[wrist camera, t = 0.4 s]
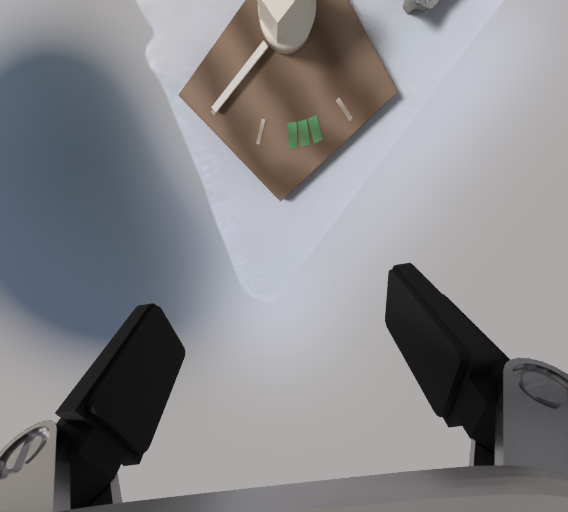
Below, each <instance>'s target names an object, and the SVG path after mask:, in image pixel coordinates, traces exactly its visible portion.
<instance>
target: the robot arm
mask: <svg viewBox="0 0 568 512" xmlns="http://www.w3.org/2000/svg"><path fill="white" fill-rule="evenodd" d="M385 322H386V326H387V328H388V330H389V332H390V333H391V335H392V337H393V339H394V341H395V342H396V344H397V346H398V348H399V350H400V351H401V353H402V355H403V357H404V358H405V360H406V362H407V364H408V366H409V368H410V369H411V371H412V373H413V375H414V376H415V378H416V380H417V382H418V384H419V385H420V387H421V389H422V391H423V393H424V394H425V396H426V398H427V400H428V402H429V403H430V405H431V407H432V409H433V410H434V412H435V413H436V415H437V416H439V417H443V419H444V420H445V422H446V424H447V425H448V427H456V426H463V428H464V429H465V431H466V432H467V434H468V436H469V437H470V438H471V451H470V462H469V466H468V467H457V468H444V469H432V470H420V471H408V472H398V473H389V474H379V475H370V476H361V477H350V478H341V479H332V480H322V481H312V482H303V483H295V484H284V485H277V486H276V485H275V486H266V487H257V488H248V489H239V490H230V491H221V492H212V493H203V494H194V495H185V496H177V497H168V498H159V499H150V500H142V501H133V502H125V503H122V498H121V492H120V486H119V479H118V473H117V472H118V470H119V468H120V465H121V464H122V465H123V466H128V465H136V464H140V461H141V459H142V456H143V454H144V453H145V452H146V451H147V450H148V448H149V446H150V444H151V442H152V439H153V437H154V434H155V431H156V429H157V426H158V424H159V421H160V419H161V416H162V414H163V411H164V408H165V406H166V403H167V401H168V398H169V396H170V393H171V390H172V388H173V385H174V383H175V380H176V377H177V375H178V373H179V370H180V368H181V365H182V362H183V360H184V357H185V349H184V347H183V345H182V343H181V341H180V340H179V338H178V337H177V335H176V333H175V331H174V330H173V328H172V326H171V324H170V323H169V321H168V319H167V318H166V316H165V314H164V313H163V311H162V309H161V308H160V307H159V306H156V305H155V304H146V305H139V306H137V307H136V308H135V309H134V311H133V312H132V313H131V315H130V316H129V317H128V318H127V320H126V321H125V322H124V324H123V325H122V326H121V328H120V329H119V330H118V332H117V333H116V334H115V335H114V337H113V338H112V339H111V341H110V342H109V343H108V345H107V346H106V347H105V349H104V350H103V351H102V352H101V354H100V355H99V356H98V358H97V359H96V360H95V362H94V363H93V364H92V365H91V367H90V368H89V369H88V371H87V372H86V373H85V375H84V376H83V377H82V378H81V380H80V381H79V382H78V384H77V385H76V386H75V388H74V389H73V390H72V391H71V393H70V394H69V395H68V397H67V398H66V399H65V401H64V402H63V403H62V405H61V406H60V407H59V409H58V410H57V411H56V412H55V413H56V414H57V415H58V416H59V417H61V418H60V420H59V421H58V422H57V424H56V423H55V422H53V421H51V420H49V421H42V422H39V423H37V424H35V425H33V426H31V427H29V428H27V429H26V430H24V431H23V432H22V433H20V434H19V435H17V436H16V437H15V438H14V439H13V440H11V441H10V442H9V443H8V444H7V445H6V446H5V447H4V448H3V449H2V450H1V451H0V512H568V374H566V373H565V372H563V371H561V370H559V369H558V368H556V367H554V366H551V365H549V364H547V363H544V362H542V361H538V360H533V359H529V358H516V359H512V360H510V359H509V358H508V357H507V356H506V355H505V354H504V353H503V352H502V351H501V350H500V349H499V348H498V347H497V346H496V345H495V344H494V343H493V342H492V341H491V340H490V339H489V338H488V337H487V336H486V335H485V334H484V333H483V332H482V331H481V330H480V329H479V328H478V327H477V326H475V324H474V323H472V321H471V320H470V319H469V318H468V317H467V316H466V315H465V314H464V313H462V311H461V310H459V308H458V307H457V306H456V305H455V304H454V303H452V302H451V301H450V300H449V299H448V298H447V297H446V296H445V295H444V294H442V293H440V291H439V290H438V289H437V288H435V286H434V285H433V284H432V283H431V282H430V281H429V280H428V279H427V278H426V277H425V276H423V274H422V273H421V272H420V271H419V270H417V268H416V267H415V266H414V265H412V264H411V263H406V264H399V265H395V266H394V267H393V269H392V270H390V271H389V275H388V287H387V301H386V314H385Z"/></svg>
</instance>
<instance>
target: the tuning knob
mask: <svg viewBox="0 0 568 512" xmlns="http://www.w3.org/2000/svg"><path fill="white" fill-rule="evenodd" d="M257 1H258V13H259V20H260V27H261V31H262V34H263V37H264V39H265V41H266V42H267V44H268V45H269V46H270V47H271V48H272V49H273V50H274V51H276V52H278V53H281V54H291V53H294V52H296V51H298V50H299V49H300V48H301V47H302V46H303V45H304V43H305V42H306V40H307V38H308V36H309V33H310V31H311V28H312V25H313V22H314V19H315V14H316V0H257ZM265 41H264V40H263V42H262V43H261V44H260V45H259V47H258V48H257V49H256V51H255V52H254V53H253V54H252V56H251V57H250V58H249V60H248V61H247V62H246V63H245V65H244V66H243V67H242V69H241V70H240V71H239V72H238V74H237V75H236V76H235V78H234V79H233V80H232V81H231V83H230V84H229V85H228V87H227V88H226V89H225V90H224V92H223V93H222V94H221V96H220V97H219V98H218V99H217V101H216V102H215V103H214V105H213V106H212V107H211V108H212V109H213V110H214V111H215V112H216V113H217V112H218V110H219V109H220V108H221V107H222V105H223V104H224V103H225V102H226V100H227V99H228V98H229V97H230V95H231V94H232V93H233V92H234V90H235V89H236V88H237V87H238V85H239V84H240V83H241V82H242V80H243V79H244V78H245V77H246V75H247V74H248V73H249V71H250V70H251V69H252V68H253V66H254V65H255V64H256V63H257V61H258V60H259V59H260V58H261V56H262V55H263V54H264V53H265V51H266V50H267V49H268V46H267V44H266V43H265Z"/></svg>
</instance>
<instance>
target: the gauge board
mask: <svg viewBox="0 0 568 512" xmlns="http://www.w3.org/2000/svg"><path fill="white" fill-rule="evenodd" d="M263 40H264V41H265V39H264V37H263V34H262V31H261V27H260V20H259V13H258V1H257V0H245V2H244V3H243V5H242V6H241V8H240V9H239V10H238V12H237V13H236V15H235V16H234V17H233V19H232V20H231V22H230V23H229V24H228V26H227V27H226V29H225V30H224V32H223V33H222V34H221V36H220V37H219V39H218V40H217V41H216V43H215V44H214V46H213V47H212V49H211V50H210V51H209V53H208V54H207V56H206V57H205V58H204V60H203V61H202V63H201V64H200V65H199V67H198V68H197V70H196V71H195V73H194V74H193V75H192V77H191V78H190V80H189V81H188V82H187V84H186V85H185V87H184V88H183V89H182V91H181V92H180V94H179V96H180V97H181V98H182V99H183V100H184V101H185V102H186V103H187V104H188V105H189V107H190V108H191V109H192V110H193V111H194V112H195V113H196V114H197V115H198V116H199V117H200V118H201V119H202V120H203V121H204V122H205V123H206V124H207V125H208V126H209V127H210V128H211V129H212V131H213V132H214V133H215V134H216V135H217V136H218V137H219V138H220V139H221V140H222V141H223V142H224V143H225V144H226V145H227V146H228V147H229V148H230V149H231V150H232V151H233V152H234V153H235V155H236V156H237V157H238V158H239V159H240V160H241V161H242V162H243V163H244V164H245V165H246V166H247V167H248V168H249V169H250V170H251V171H252V172H253V173H254V174H255V175H256V176H257V178H258V179H259V180H260V181H261V182H262V183H263V184H264V185H265V186H266V187H267V188H268V189H269V190H270V191H271V192H272V193H273V194H274V195H275V196H276V197H277V198H278V199H279V200H280V202H281V201H282V200H283V199H284V198H285V197H286V196H287V195H288V194H289V193H290V192H291V191H292V190H293V189H294V188H296V187H297V186H298V185H299V184H300V183H301V182H302V181H303V180H304V179H305V178H306V177H307V176H308V175H309V174H310V173H312V172H313V171H314V170H315V169H316V168H317V167H318V166H319V165H320V164H321V163H322V162H323V161H324V160H325V159H326V158H328V157H329V156H330V155H331V154H332V153H333V152H334V151H335V150H336V149H337V148H338V147H339V146H340V145H341V144H342V143H344V142H345V141H346V140H347V139H348V138H349V137H350V136H351V135H352V134H353V133H354V132H355V131H356V130H357V129H358V128H360V127H361V126H362V125H363V124H364V123H365V122H366V121H367V120H368V119H369V118H370V117H371V116H372V115H373V114H374V113H376V112H377V111H378V110H379V109H380V108H381V107H382V106H383V105H384V104H385V103H386V102H387V101H388V100H389V99H391V98H392V97H393V96H394V95H395V94H396V93H397V92H398V91H397V89H396V87H395V85H394V84H393V82H392V80H391V78H390V76H389V74H388V73H387V71H386V69H385V67H384V65H383V63H382V61H381V60H380V58H379V56H378V54H377V52H376V50H375V49H374V47H373V45H372V43H371V41H370V39H369V38H368V36H367V34H366V32H365V30H364V28H363V26H362V25H361V23H360V21H359V19H358V17H357V15H356V14H355V12H354V10H353V8H352V6H351V4H350V3H349V1H348V0H316V14H315V19H314V22H313V25H312V28H311V31H310V33H309V36H308V38H307V40H306V42H305V43H304V45H303V46H302V47H301V48H300V49H299V50H298V51H296V52H294V53H291V54H281V53H278V52H276V51H274V50H273V49H272V48H271V47H270V46H269V45H268V44H267V42H266V41H265V43H266V44H267V46H268V49H267V50H266V51H265V53H264V54H263V55H262V56H261V58H260V59H259V60H258V61H257V63H256V64H255V65H254V66H253V68H252V69H251V70H250V71H249V73H248V74H247V75H246V77H245V78H244V79H243V80H242V82H241V83H240V84H239V85H238V87H237V88H236V89H235V90H234V92H233V93H232V94H231V95H230V97H229V98H228V99H227V100H226V102H225V103H224V104H223V105H222V107H221V108H220V109H219V110H218V112H217V113H216V112H215V111H214V110H213V109H212V108H211V107H212V106H213V105H214V103H215V102H216V101H217V99H218V98H219V97H220V96H221V94H222V93H223V92H224V90H225V89H226V88H227V87H228V85H229V84H230V83H231V81H232V80H233V79H234V78H235V76H236V75H237V74H238V72H239V71H240V70H241V69H242V67H243V66H244V65H245V63H246V62H247V61H248V60H249V58H250V57H251V56H252V54H253V53H254V52H255V51H256V49H257V48H258V47H259V45H260V44H261V43H262V42H263Z"/></svg>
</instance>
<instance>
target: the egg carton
mask: <svg viewBox="0 0 568 512" xmlns="http://www.w3.org/2000/svg"><path fill="white" fill-rule="evenodd" d="M439 1H440V0H429V1H426V0H405V2H404V4H403V9H404V10H405V12H406V13H407V14H409V13H410V12H411V11H412V10H415V9H417V10H420V11H421V12H423V11H424V10H426V9H427V8H429V9H431V8H433V7H434V6H435V5H436V4H437V3H438V2H439Z"/></svg>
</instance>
